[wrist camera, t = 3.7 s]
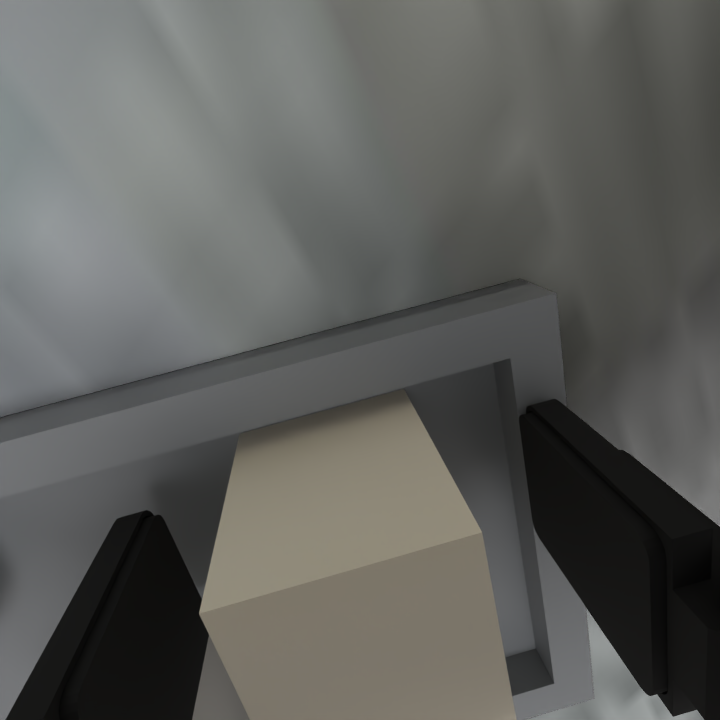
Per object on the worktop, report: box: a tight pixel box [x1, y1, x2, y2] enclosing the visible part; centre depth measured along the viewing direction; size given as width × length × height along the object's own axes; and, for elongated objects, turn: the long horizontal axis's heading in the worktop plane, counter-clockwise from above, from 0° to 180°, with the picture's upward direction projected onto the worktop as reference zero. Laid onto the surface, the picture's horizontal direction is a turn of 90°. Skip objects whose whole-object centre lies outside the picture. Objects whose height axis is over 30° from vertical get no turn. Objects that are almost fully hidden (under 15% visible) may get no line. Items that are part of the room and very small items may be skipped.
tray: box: [0, 279, 595, 720], centre depth 11 cm, size 16×11×2 cm, turn 103°
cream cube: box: [199, 389, 516, 720], centre depth 9 cm, size 4×4×4 cm
